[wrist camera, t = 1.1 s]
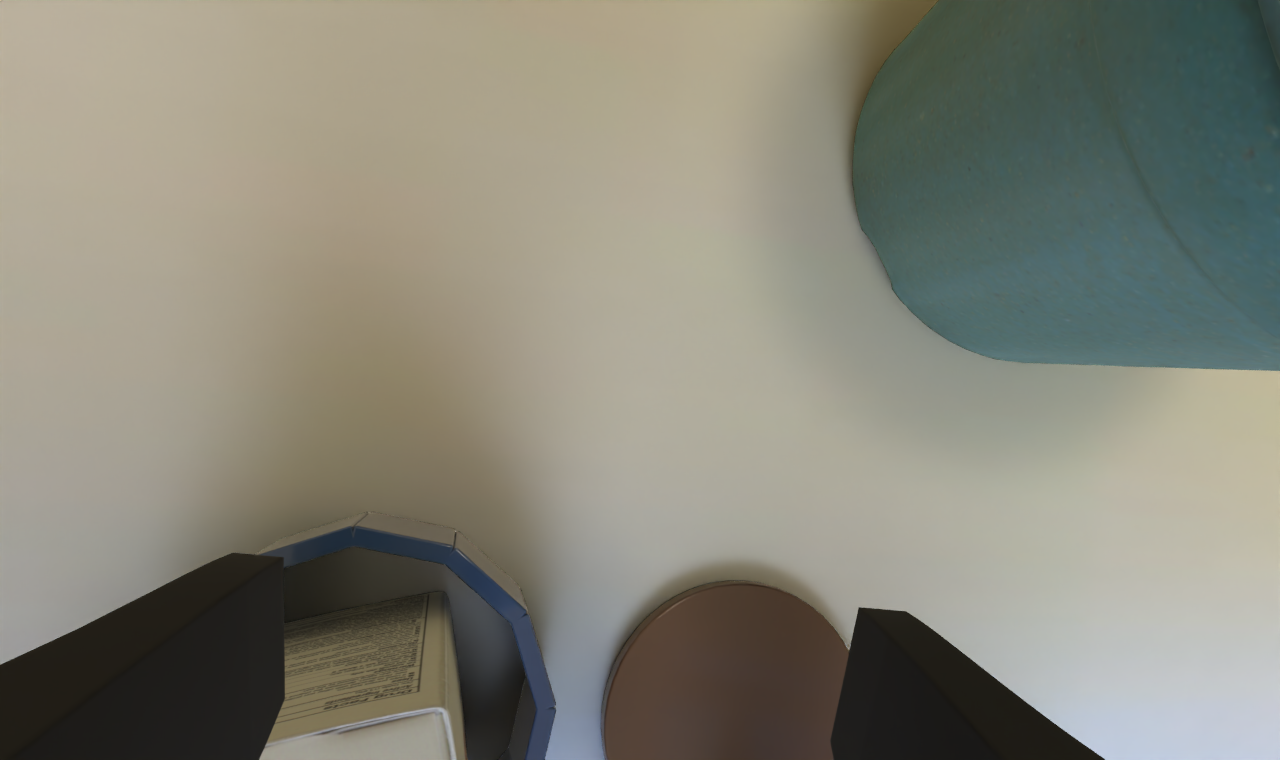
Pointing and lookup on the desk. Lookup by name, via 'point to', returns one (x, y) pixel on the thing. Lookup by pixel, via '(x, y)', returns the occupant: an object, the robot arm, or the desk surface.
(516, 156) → the desk surface
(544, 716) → the blue ring
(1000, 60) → the flower pot
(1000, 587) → the desk surface
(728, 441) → the desk surface
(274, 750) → the drug facts carton
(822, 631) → the walnut coaster
